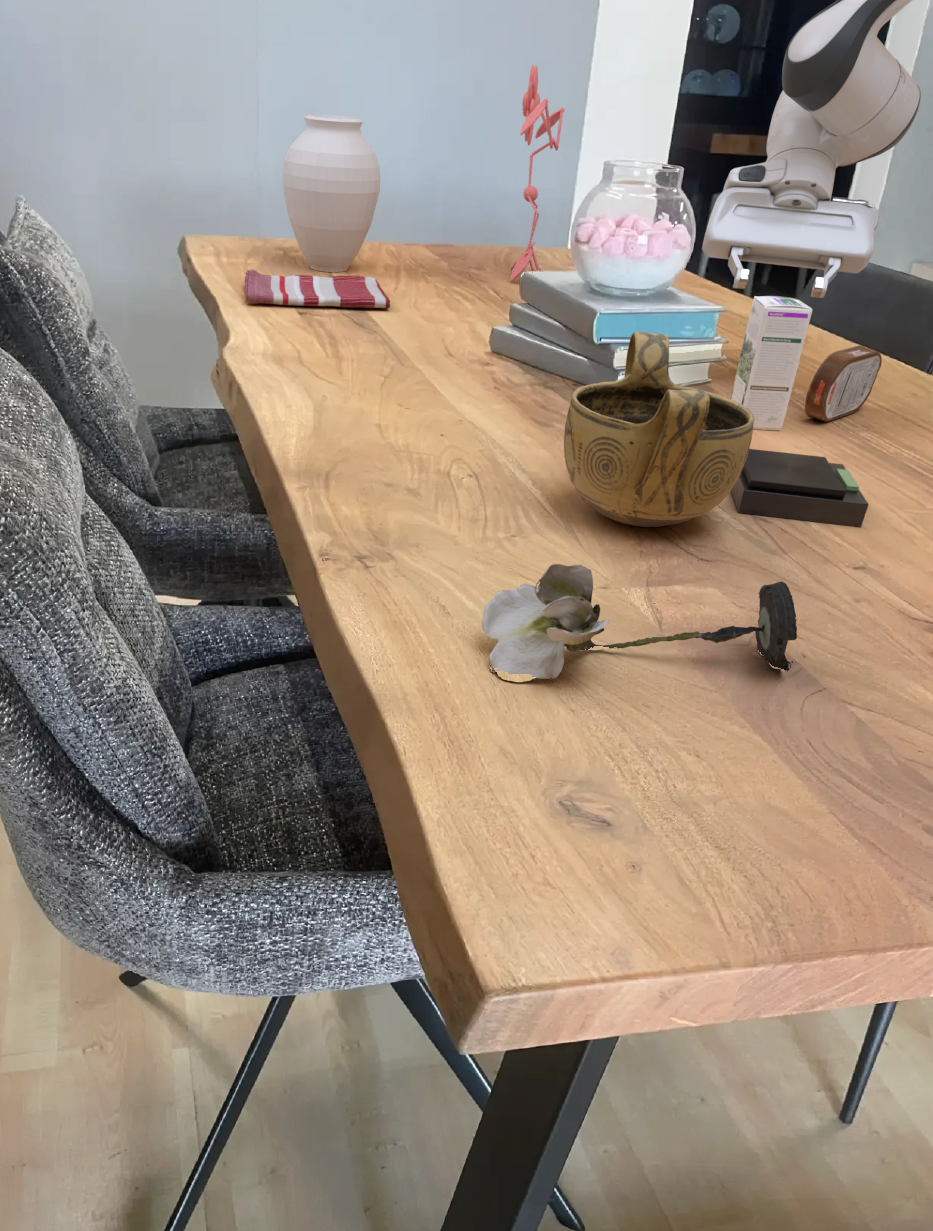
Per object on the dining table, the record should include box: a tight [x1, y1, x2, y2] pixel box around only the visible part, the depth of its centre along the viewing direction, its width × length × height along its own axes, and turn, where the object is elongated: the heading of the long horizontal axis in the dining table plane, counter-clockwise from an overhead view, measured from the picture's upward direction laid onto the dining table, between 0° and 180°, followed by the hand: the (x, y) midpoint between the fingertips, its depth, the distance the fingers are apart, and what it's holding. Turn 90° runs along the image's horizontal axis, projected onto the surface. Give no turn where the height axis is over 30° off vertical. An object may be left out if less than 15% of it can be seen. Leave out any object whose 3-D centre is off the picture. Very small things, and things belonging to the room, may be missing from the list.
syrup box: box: [729, 295, 813, 432], centre depth 128 cm, size 6×6×14 cm
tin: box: [804, 344, 883, 422], centre depth 135 cm, size 15×3×8 cm, turn 134°
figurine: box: [467, 64, 565, 283], centre depth 195 cm, size 15×26×35 cm, turn 170°
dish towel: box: [243, 268, 391, 309], centre depth 176 cm, size 17×23×3 cm
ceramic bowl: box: [563, 331, 754, 528], centre depth 99 cm, size 22×17×15 cm
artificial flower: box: [481, 563, 798, 680], centre depth 76 cm, size 9×22×10 cm, turn 90°
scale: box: [730, 448, 869, 528], centre depth 109 cm, size 12×12×3 cm
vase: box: [282, 113, 381, 273], centre depth 193 cm, size 18×18×25 cm
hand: (779, 290), depth 130 cm, fingers open, 8 cm apart
